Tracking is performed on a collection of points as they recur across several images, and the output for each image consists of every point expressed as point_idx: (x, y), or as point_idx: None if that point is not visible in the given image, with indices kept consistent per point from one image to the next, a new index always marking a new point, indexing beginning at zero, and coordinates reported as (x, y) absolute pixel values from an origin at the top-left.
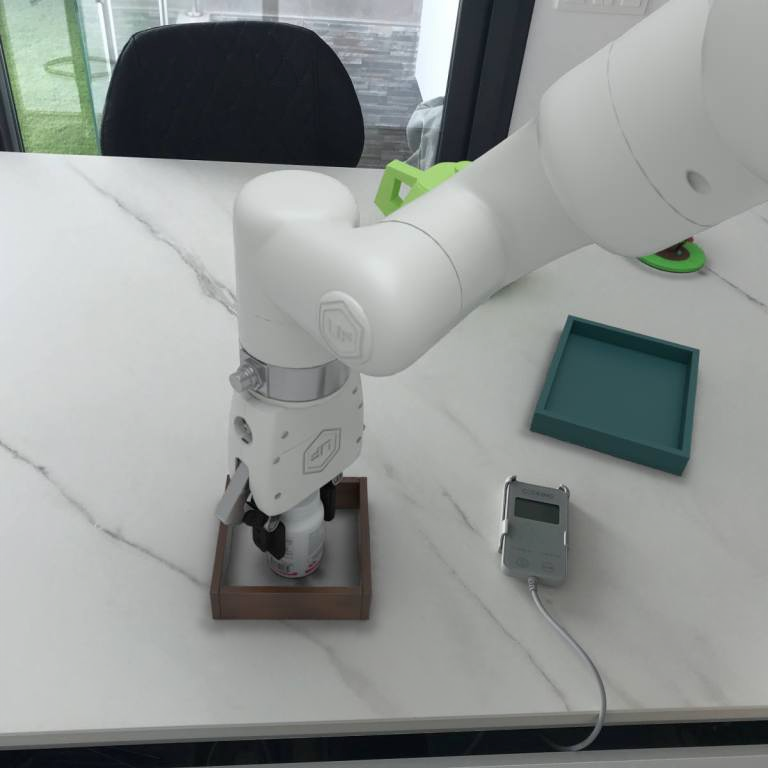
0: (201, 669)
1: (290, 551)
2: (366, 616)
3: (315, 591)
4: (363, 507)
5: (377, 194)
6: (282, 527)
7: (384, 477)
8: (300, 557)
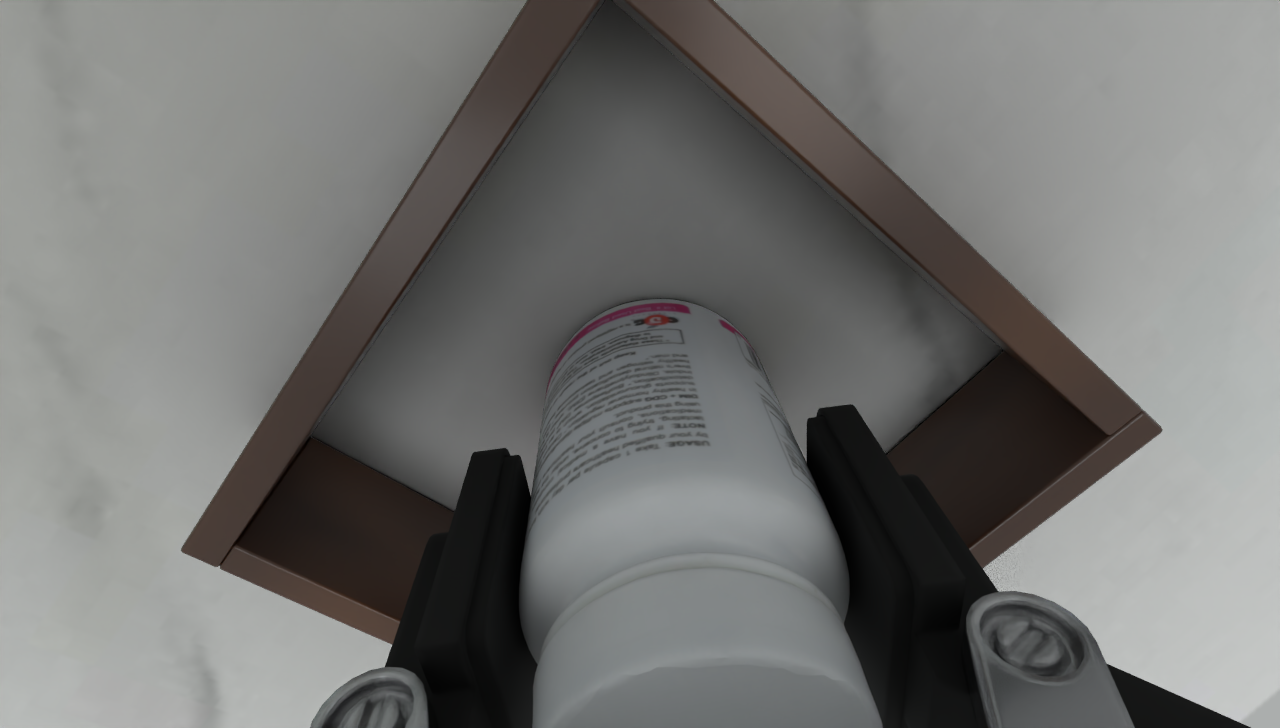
0: (1227, 200)
1: (775, 414)
2: None
3: (843, 148)
4: (291, 426)
5: None
6: (935, 581)
7: (123, 491)
8: (726, 366)
